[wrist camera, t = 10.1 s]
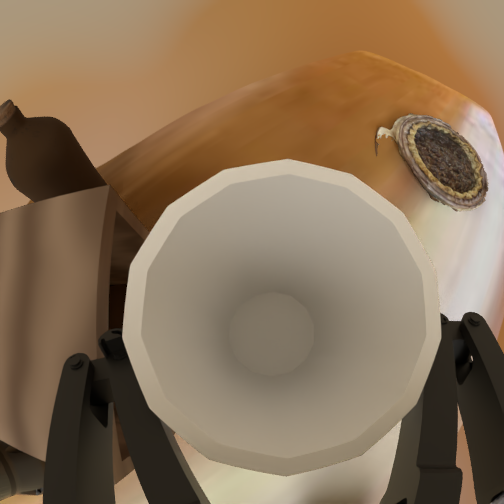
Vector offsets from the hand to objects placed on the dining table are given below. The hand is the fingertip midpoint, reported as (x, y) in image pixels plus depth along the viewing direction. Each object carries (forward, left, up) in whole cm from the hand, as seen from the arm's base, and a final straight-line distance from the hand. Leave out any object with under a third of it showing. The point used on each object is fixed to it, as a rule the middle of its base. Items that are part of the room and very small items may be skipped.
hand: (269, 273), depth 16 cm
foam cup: (0, -3, -5) cm, 6 cm away
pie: (+36, +22, -21) cm, 47 cm away
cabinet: (-17, -3, -20) cm, 27 cm away
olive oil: (-27, +19, -21) cm, 39 cm away
